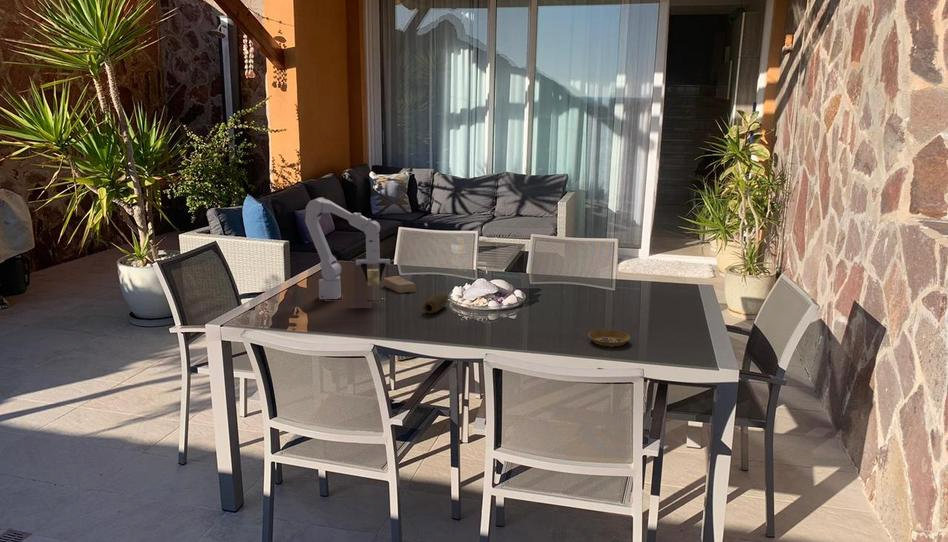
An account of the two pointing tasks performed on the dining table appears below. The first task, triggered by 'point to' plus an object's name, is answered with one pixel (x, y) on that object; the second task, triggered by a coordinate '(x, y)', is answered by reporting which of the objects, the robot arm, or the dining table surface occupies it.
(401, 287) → the brick
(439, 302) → the brown hollow tube
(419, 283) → the dining table surface
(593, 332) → the plant saucer
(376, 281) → the birch block
